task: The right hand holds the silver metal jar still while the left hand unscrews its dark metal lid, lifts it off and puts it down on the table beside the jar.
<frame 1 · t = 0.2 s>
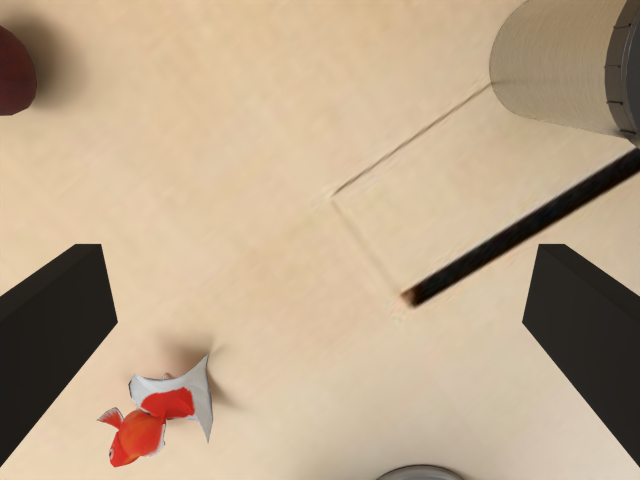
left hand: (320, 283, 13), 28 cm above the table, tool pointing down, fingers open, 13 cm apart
fish: (171, 382, 49), on the table
jar: (547, 58, 36), on the table
dark red round piece: (13, 69, 36), on the table
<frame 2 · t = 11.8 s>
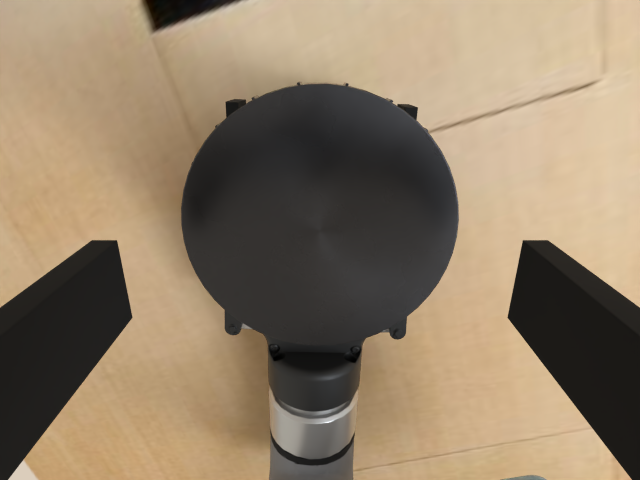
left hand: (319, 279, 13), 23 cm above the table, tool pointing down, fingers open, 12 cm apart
lid: (319, 228, 17), point 18 cm above the table, screwed on, not yet turned
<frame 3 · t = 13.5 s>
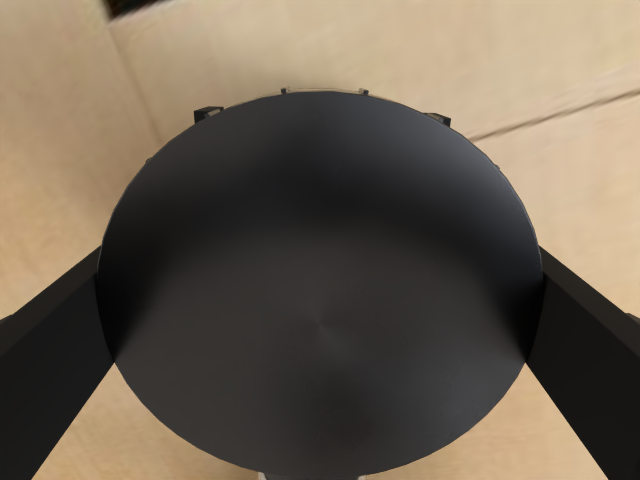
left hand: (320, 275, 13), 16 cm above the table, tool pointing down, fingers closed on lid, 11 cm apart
lid: (319, 317, 11), point 18 cm above the table, screwed on, not yet turned, touching left hand
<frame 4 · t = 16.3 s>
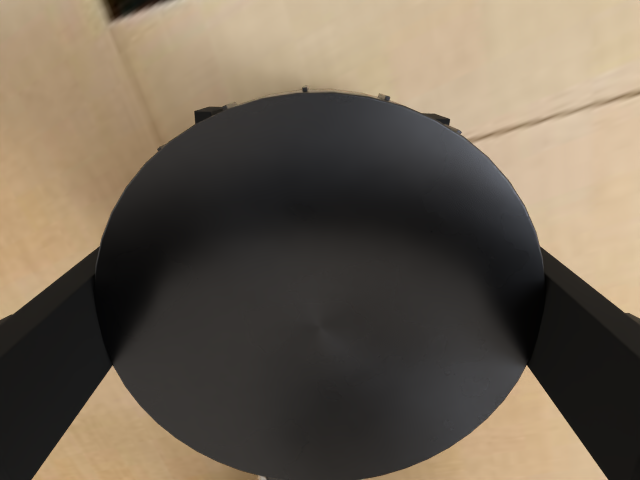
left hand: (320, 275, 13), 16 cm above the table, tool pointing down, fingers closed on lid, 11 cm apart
lid: (319, 319, 11), point 18 cm above the table, turned 67° so far, risen 0.2 cm, still on its thread, touching left hand
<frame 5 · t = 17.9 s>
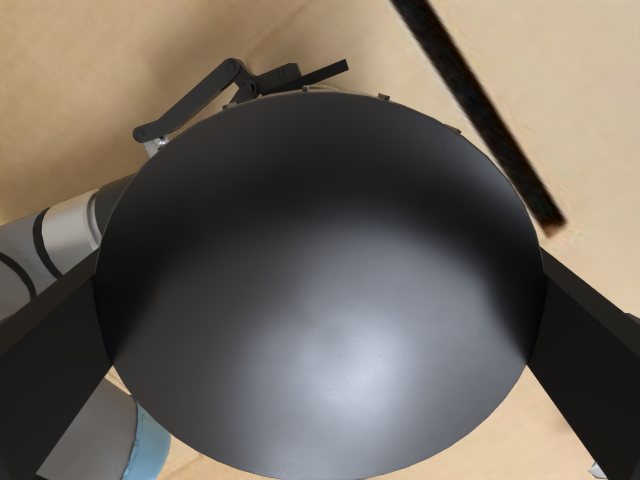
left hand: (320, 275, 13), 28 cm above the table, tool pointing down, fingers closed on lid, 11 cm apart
right hand: (368, 134, 32), fingers closed on jar, 10 cm apart
lid: (319, 319, 11), point 31 cm above the table, off its thread, touching left hand
when the left hand's fingers open (0 cm above the table, at t = 22.8 s): lid drops 2 cm, point 1 cm above the table.
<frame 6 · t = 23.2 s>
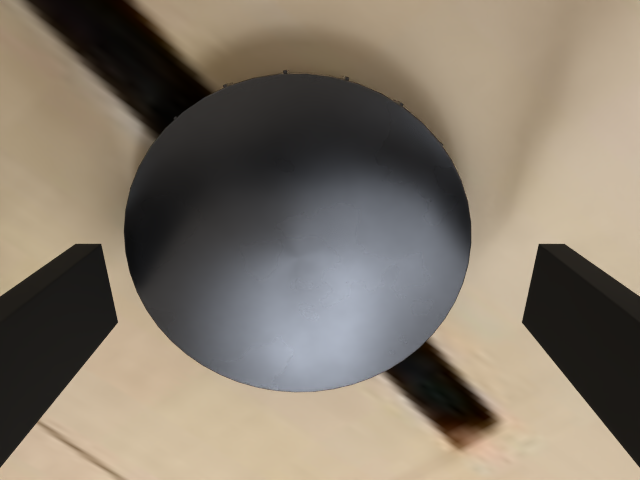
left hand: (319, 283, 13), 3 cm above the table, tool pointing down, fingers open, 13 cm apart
lid: (300, 254, 14), point 1 cm above the table, off its thread
when the right hand's fingers open (7 cm above the table, at t = 23.8 s): jar stays where it is, on the table.
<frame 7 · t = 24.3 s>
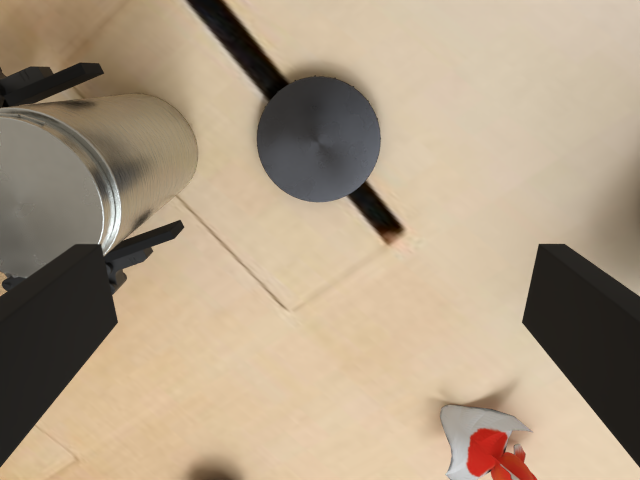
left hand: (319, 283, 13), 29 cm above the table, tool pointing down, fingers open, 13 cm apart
fish: (477, 430, 53), on the table
jar: (145, 149, 40), on the table
lid: (318, 142, 38), point 1 cm above the table, off its thread
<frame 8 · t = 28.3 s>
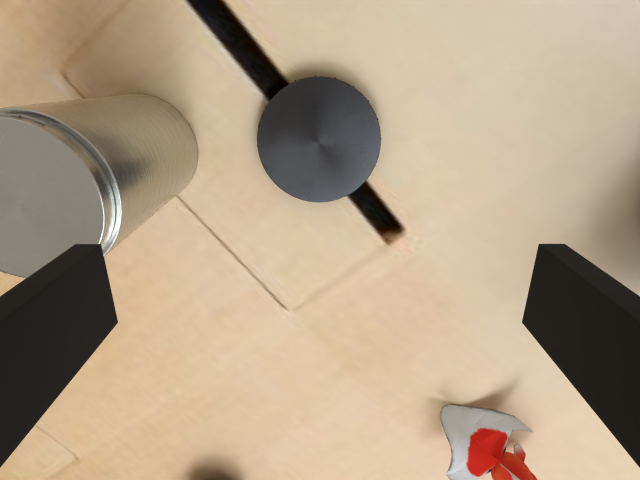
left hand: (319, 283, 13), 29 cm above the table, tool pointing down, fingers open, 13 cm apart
fish: (477, 430, 53), on the table
jar: (145, 149, 40), on the table
lid: (319, 142, 38), point 1 cm above the table, off its thread
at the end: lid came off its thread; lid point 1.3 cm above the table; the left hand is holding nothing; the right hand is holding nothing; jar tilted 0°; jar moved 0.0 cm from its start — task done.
